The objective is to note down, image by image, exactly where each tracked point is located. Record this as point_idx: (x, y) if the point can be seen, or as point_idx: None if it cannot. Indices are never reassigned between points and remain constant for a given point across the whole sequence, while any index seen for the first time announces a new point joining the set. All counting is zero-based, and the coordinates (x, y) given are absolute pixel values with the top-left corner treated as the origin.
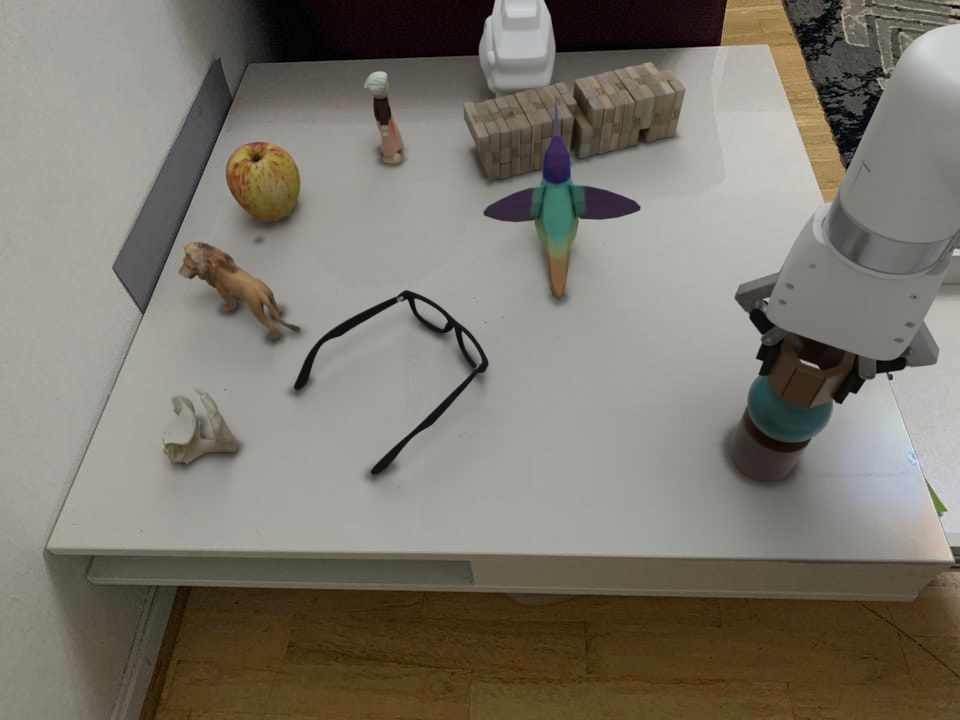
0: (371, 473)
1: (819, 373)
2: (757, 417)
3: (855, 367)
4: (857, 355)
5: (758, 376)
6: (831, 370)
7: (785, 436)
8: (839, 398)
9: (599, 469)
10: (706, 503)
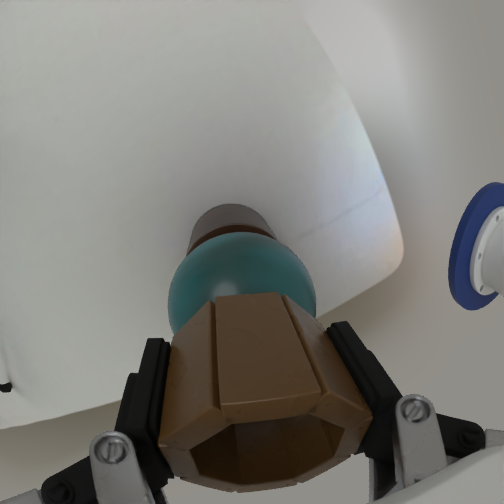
0: (10, 391)
1: (285, 484)
2: None
3: (364, 451)
4: (373, 411)
5: (169, 309)
6: (310, 473)
7: None
8: None
9: (97, 337)
10: None
